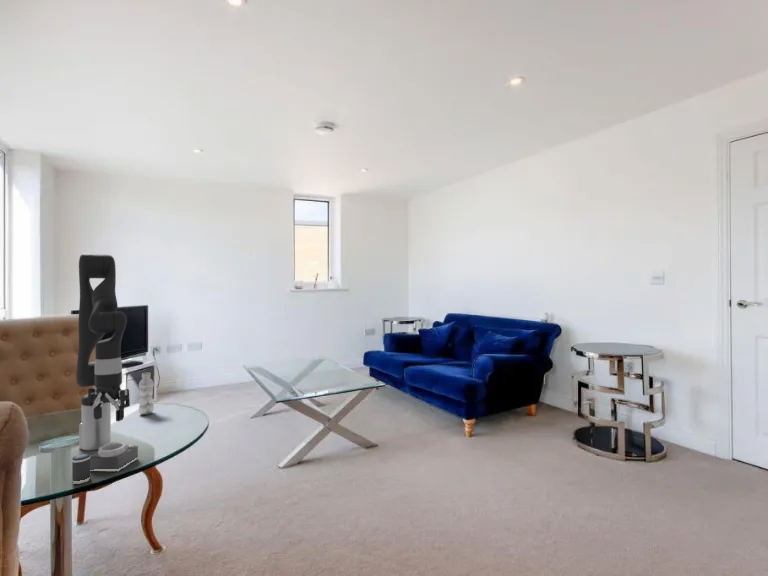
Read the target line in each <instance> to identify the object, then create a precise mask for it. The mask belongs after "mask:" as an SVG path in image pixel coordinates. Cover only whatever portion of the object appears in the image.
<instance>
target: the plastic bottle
mask: <svg viewBox="0 0 768 576" xmlns="http://www.w3.org/2000/svg"><path fill="white" fill-rule="evenodd" d="M151 374H152V373H151V372H148V371H147V372H142V373H141V379H140V381H139V383H138V389H139V390H138V391H139V406H138V413H139V414H140V415H141V416H142V415H143V416H144V415H150V414H153V412H154V410H155V405H154V398H153V394H154V393H153V391H154V386H155V383H154V381H153V379H152V378H151Z"/></svg>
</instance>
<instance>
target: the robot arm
mask: <svg viewBox="0 0 768 576" xmlns="http://www.w3.org/2000/svg"><path fill="white" fill-rule="evenodd" d="M115 261H116V260H115V258H114V257H113V255H111V254H110V255H109V254H102V253H81V255H80V256H79V260H78V280H79V306H78V307H79V309H78V352H77V360H76V372H75V373H76V374H75V379H76V384H77V386H79V388H87V387H91V388H88V391H87V394H86V393H85V395H83V396H82V397H81V400H80V401H81V402H80V403H81V423H79V424H78V426H79V427H78V439H79V440H78V444H79V445H78V448H79V449H80V450H83V451H96V450H99V448H100V447H102V446H103V445H106V444H110V443H112V442H111V439H112V437H111V433H112V431H111V429H112V428H111V425H112V424H111V423H112V422H111V405H112V406H114V409H116V410H115V421H116V422H120V421H123V419H124V417H125V409H126V408H128V407H130V406H131V405H130V404H131V403H130V390H129V388H125V389H121V385H122V384H123V364H122V363H123V362H122V353H121V351H122V349H121V348H122V340H123V336H124V332H125V330H126V326H127V324H128V318H127V314H126V313H124V312H123V311H117V310H118V308H119V306H118V305H119V304H118V300H117V295H116V284H117V283H116V282H117V281H116V280H117V279H116V273H117V272H116V270H117V269H116V262H115ZM90 279H103V280H102V281H101V282H100V283H99V284H98V285H97V286H96V287H95V288H94V289H93V287H92V285H91V282H90ZM107 333H108V334H109V333H113V334H112V336H110V337H108V338H106V339H103V337H104V336H105V334H107ZM94 349H95V350H94ZM93 351H95V352H94V353H95V361H90V358H91V354H92V352H93ZM92 386H93V387H92Z"/></svg>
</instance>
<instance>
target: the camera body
mask: <svg viewBox="0 0 768 576" xmlns="http://www.w3.org/2000/svg"><path fill="white" fill-rule="evenodd" d="M138 446H139V445H133V444H128V445H127V443H126V442H122V441H120V442H119V441H118V442H111V443H110V444H106V445H103V446H102V447H100V448H99V449H97V450H98V451H97V452H96V453H94V454H93V455H90V470H94V469H119V468H121V467H123V466H124V465H126V464H127V463H129V462H131V461H132V460H134V459H135V458H137V457H138V458H139V447H138Z"/></svg>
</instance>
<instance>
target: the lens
mask: <svg viewBox="0 0 768 576" xmlns="http://www.w3.org/2000/svg"><path fill="white" fill-rule="evenodd" d="M90 457H91V454H90V453H82V454H77V455H75V456H73V457H72V458H71V462H72V463H71V465H72V468H71V469H72V476H71V477H72V479H71V480H73V481H80V480H85V479H87V478H89V477H90V478H91V472H90Z"/></svg>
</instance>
